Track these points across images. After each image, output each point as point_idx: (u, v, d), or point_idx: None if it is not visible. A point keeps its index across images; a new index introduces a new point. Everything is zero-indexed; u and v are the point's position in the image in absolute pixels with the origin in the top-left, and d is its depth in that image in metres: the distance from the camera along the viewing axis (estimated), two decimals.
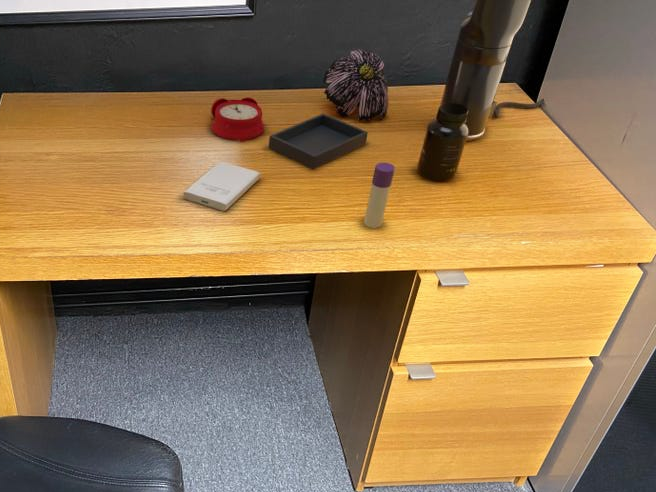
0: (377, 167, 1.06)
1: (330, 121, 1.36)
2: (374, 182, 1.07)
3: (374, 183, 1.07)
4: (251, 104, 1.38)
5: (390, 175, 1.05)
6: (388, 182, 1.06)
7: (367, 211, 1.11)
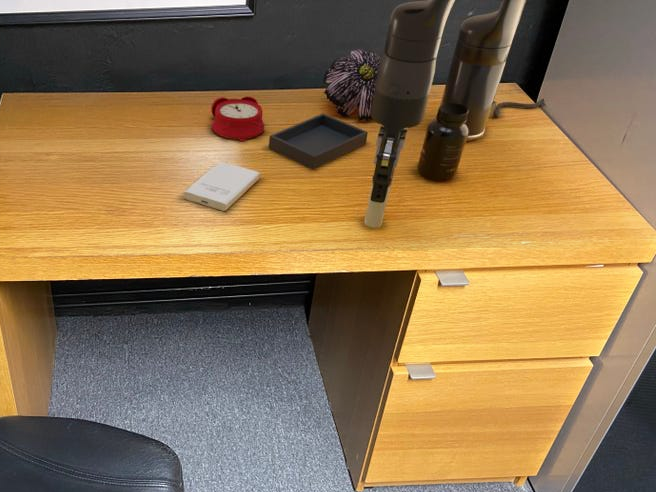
0: None
1: (330, 121, 1.36)
2: None
3: None
4: (251, 103, 1.38)
5: None
6: None
7: (367, 211, 1.11)
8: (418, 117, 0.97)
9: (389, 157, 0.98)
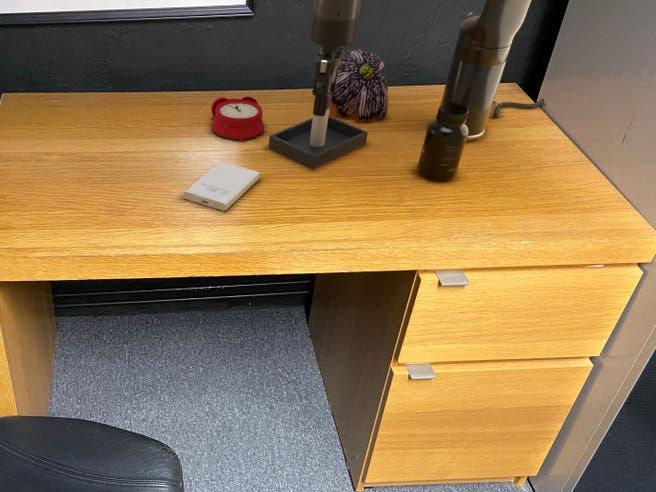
0: None
1: (330, 121, 1.36)
2: None
3: None
4: (251, 103, 1.38)
5: (328, 99, 1.25)
6: (327, 105, 1.26)
7: (311, 132, 1.30)
8: (349, 36, 1.16)
9: (327, 61, 1.15)
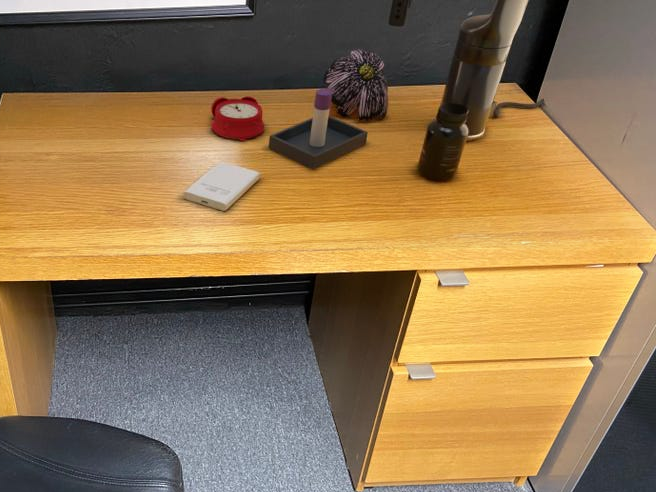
0: (317, 92, 1.25)
1: (330, 121, 1.36)
2: (315, 105, 1.26)
3: (315, 106, 1.26)
4: (251, 103, 1.38)
5: (328, 99, 1.25)
6: (327, 105, 1.26)
7: (311, 132, 1.30)
8: None
9: None
